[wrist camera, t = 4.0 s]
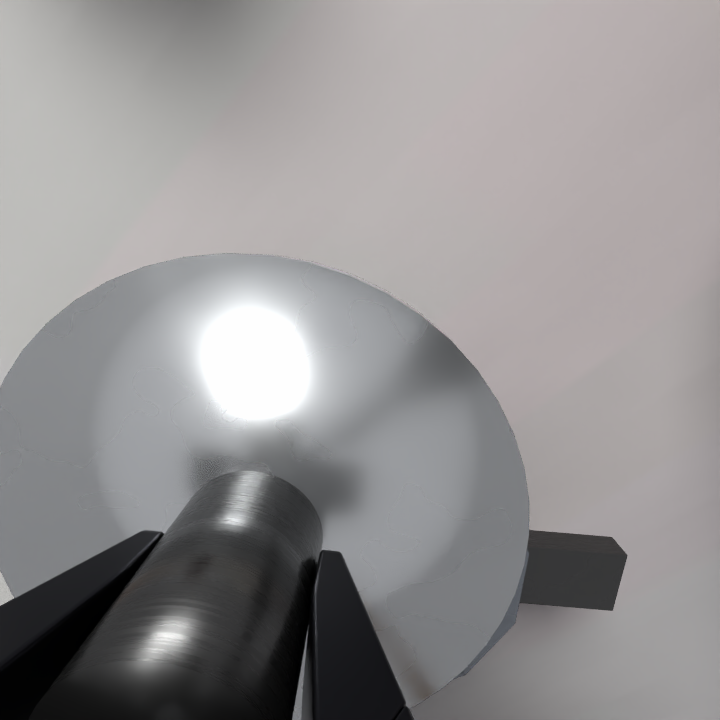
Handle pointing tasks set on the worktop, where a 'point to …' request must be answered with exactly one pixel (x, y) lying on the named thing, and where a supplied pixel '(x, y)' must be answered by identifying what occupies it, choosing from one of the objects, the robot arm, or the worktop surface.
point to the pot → (564, 576)
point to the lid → (256, 483)
